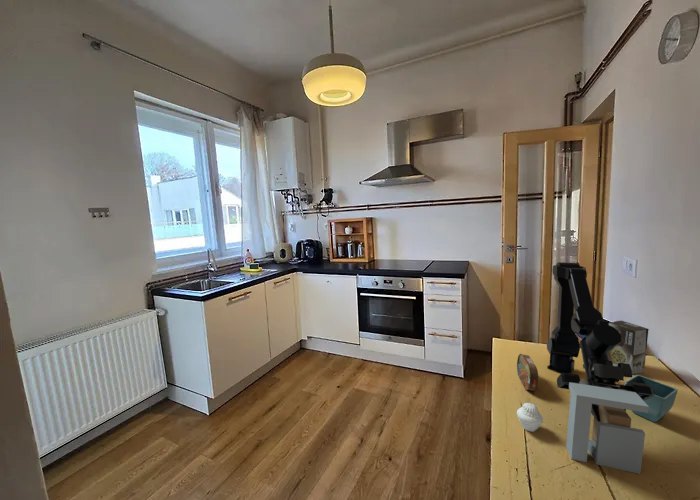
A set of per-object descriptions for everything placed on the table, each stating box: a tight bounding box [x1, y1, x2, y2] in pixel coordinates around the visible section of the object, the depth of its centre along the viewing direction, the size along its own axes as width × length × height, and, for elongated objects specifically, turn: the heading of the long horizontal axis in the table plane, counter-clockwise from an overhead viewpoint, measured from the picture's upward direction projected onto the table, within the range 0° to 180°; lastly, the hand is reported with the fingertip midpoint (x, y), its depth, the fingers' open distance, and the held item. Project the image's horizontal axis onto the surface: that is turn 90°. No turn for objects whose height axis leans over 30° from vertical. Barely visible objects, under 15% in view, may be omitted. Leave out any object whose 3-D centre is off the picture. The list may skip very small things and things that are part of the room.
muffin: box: [516, 402, 544, 433], centre depth 83 cm, size 6×6×7 cm
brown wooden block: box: [591, 404, 632, 442], centre depth 74 cm, size 8×4×12 cm, turn 159°
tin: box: [516, 353, 539, 392], centre depth 104 cm, size 15×3×8 cm, turn 164°
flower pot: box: [623, 374, 679, 423], centre depth 87 cm, size 9×9×9 cm
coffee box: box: [608, 320, 650, 375], centre depth 112 cm, size 9×6×16 cm
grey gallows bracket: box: [565, 382, 649, 475], centre depth 72 cm, size 6×13×16 cm, turn 69°
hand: (609, 423), depth 74 cm, fingers open, 4 cm apart
